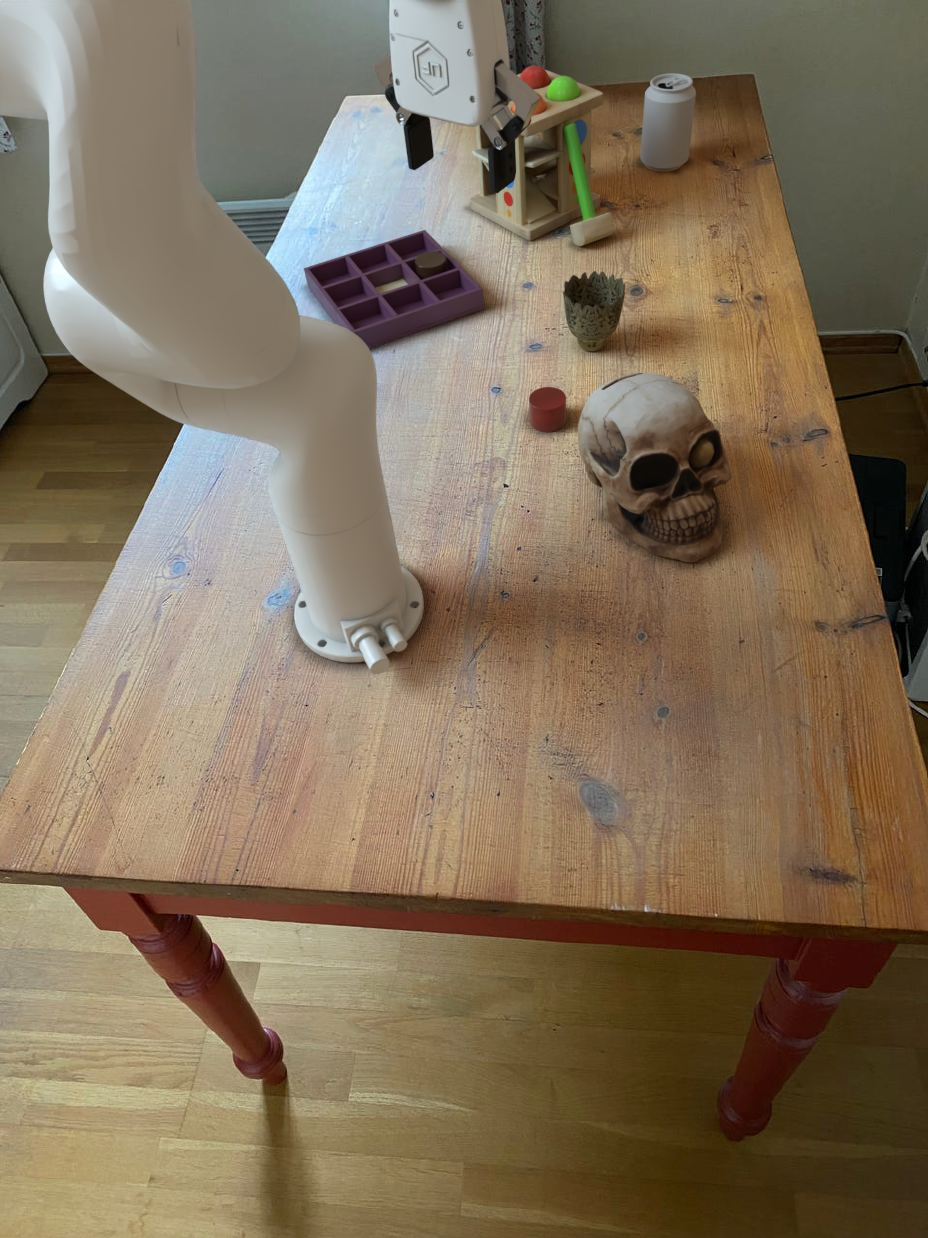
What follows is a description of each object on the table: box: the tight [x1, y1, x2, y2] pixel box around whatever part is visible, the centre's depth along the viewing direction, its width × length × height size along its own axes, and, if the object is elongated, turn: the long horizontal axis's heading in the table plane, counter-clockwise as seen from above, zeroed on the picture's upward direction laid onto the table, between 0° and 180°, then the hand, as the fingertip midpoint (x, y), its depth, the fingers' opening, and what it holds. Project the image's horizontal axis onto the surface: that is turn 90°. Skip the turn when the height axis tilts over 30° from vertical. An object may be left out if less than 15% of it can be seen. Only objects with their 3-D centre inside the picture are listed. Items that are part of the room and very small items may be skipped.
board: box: [303, 229, 485, 350], centre depth 121 cm, size 19×19×3 cm
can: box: [639, 72, 697, 173], centre depth 136 cm, size 8×8×12 cm
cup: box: [562, 270, 626, 352], centre depth 109 cm, size 8×7×8 cm
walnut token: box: [415, 251, 447, 280], centre depth 122 cm, size 4×4×3 cm
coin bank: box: [577, 372, 733, 563], centre depth 90 cm, size 16×17×13 cm
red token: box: [528, 386, 567, 433], centre depth 102 cm, size 4×4×3 cm
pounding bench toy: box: [468, 65, 615, 247], centre depth 126 cm, size 23×14×18 cm, turn 38°
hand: (461, 174), depth 84 cm, fingers open, 9 cm apart
